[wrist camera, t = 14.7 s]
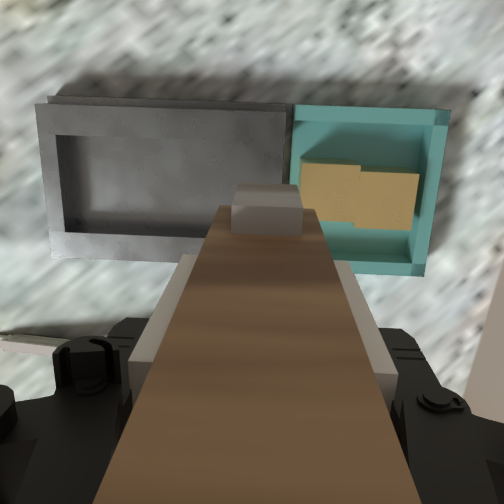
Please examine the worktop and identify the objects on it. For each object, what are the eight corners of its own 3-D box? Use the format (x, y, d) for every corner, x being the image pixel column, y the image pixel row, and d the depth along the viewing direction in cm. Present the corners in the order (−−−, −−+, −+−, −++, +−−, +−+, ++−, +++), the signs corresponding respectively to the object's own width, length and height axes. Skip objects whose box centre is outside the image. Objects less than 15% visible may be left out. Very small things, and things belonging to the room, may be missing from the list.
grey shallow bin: (54, 95, 35) (33, 95, 32) (285, 103, 34) (287, 104, 31) (69, 249, 39) (52, 263, 36) (277, 259, 38) (277, 273, 35)
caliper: (225, 333, 41) (217, 374, 35) (225, 344, 41) (218, 387, 35) (-5, 332, 42) (-51, 372, 36) (-2, 343, 42) (-47, 384, 36)
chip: (299, 157, 35) (302, 162, 32) (353, 159, 35) (361, 165, 32) (295, 209, 36) (298, 219, 33) (348, 212, 36) (354, 222, 33)
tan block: (353, 164, 35) (360, 171, 32) (407, 167, 35) (419, 174, 32) (347, 217, 36) (354, 227, 33) (399, 219, 36) (410, 230, 33)
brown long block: (219, 181, 20) (-6, 607, 4) (316, 185, 20) (529, 640, 3) (218, 311, 22) (70, 960, 6) (306, 315, 22) (411, 986, 5)
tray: (293, 103, 34) (295, 105, 32) (438, 109, 34) (451, 110, 32) (284, 259, 38) (285, 270, 36) (414, 265, 38) (423, 276, 36)
